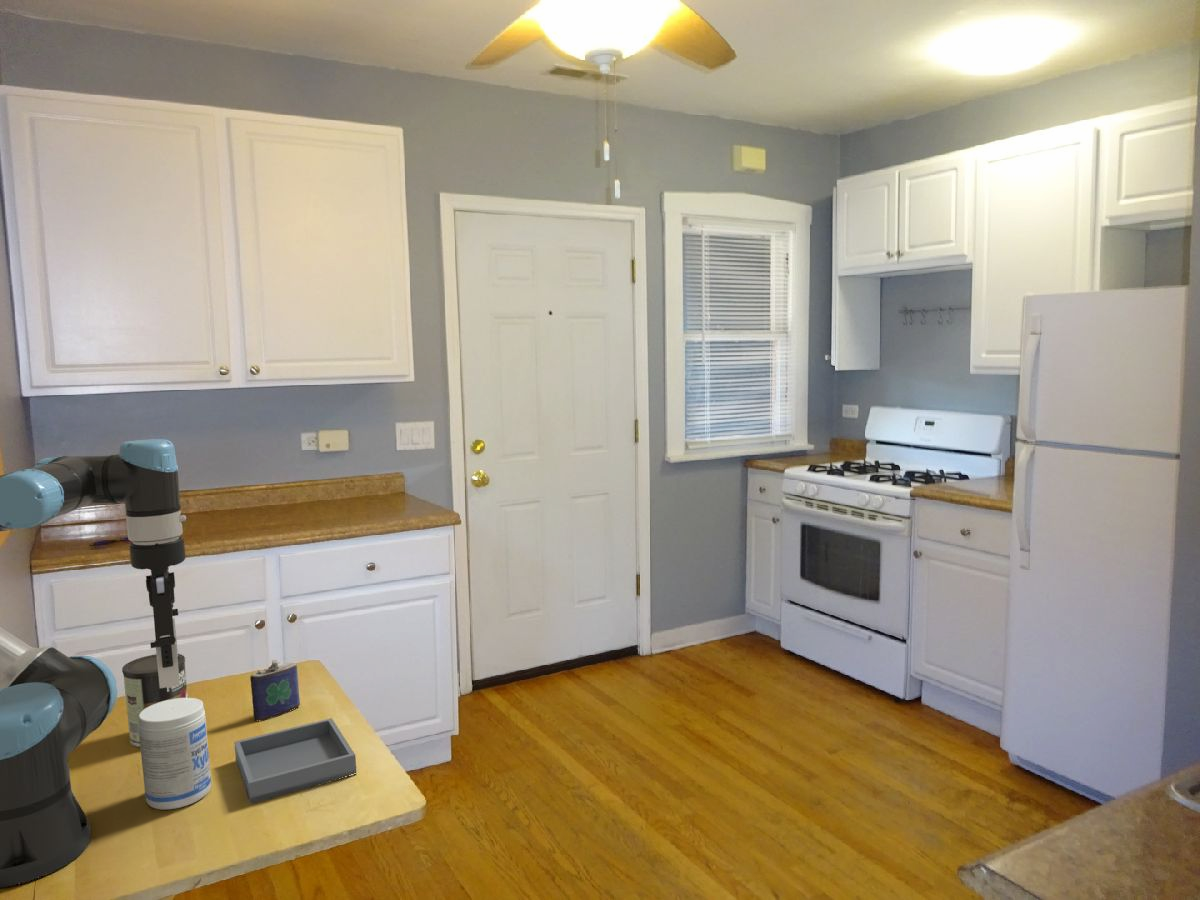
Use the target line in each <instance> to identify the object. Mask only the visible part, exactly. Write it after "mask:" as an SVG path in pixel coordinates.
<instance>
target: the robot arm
mask: <svg viewBox="0 0 1200 900" xmlns="http://www.w3.org/2000/svg"><path fill="white" fill-rule="evenodd" d="M118 449H119V450H118V451H119V452H118V454H110V455H107V454H106V455H83V456H81V455H80V456H76V455H75V456H69V455H62V456H55V457H45V458H42V459H40V460H38V461H37V462H36V463H35V466H33V467H30V468H25V469H20V470H15V471H12V472H8V473H5V474H1V475H0V533H2V532H5V531H11V530H24V529H28V528H33V527H37V526H40V525H43V524H46V523H48V522H50V521H51V520H53V519H55V518H58V517H61V516H62V515H66V514H69V513H71V512H73V511H76V510H79V509H82V508H83V507H87V506H97V505H117V504H118V505H119V504H120V505H121V504H124V508H125V522H126V523H125V524H126V531H127V539H128V541H130V542H131V543H130V545H129V546H128V548H129V556H130V566H131V567H132V568H134V569H137V570H150V575H145V578H146V579H145V585H146V586H145V587H146V590H147V592H148V600H149V601H148V602H149V606H150V607H152V610H153V613H152V615H153V622H154V623H153V625H154V636H155V641H152V642H150V649H155V653H156V655H157V666H158V676H159V686H160V688H165V687H170V686H176V685H180V680H179V670H178V659H177V656H178V654H179V650H178V639H177V633H176V630H177V629H176V622H175V620H176V619H175V616H179V609H178V608H174V604H175V602H176V600H175V599H176V598H175V587H176V579H175V578H176V577H175V572H174V571H173V572H170V570H169V568H170V567H171V566H177V565H180V564H181V563H184V561H185V560H186V556H187V555H186V548H185V539H184V538H183V537H181V535H183V531H184V529H183V523H182V522H185V521H186V520H187V516H186V514H182V511H181V509H182V508H181V507H182V506H181V496H180V483H179V482H180V481H179V466H178V461H177V457H176V451H175V446H174V444H173V442H172V441H170V440H168V439H164V438H149V439H136V440H135V439H134V440H129V441H125V442H121V444H120V445H119V448H118ZM181 514H182V515H181ZM173 608H174V609H173ZM117 697H118V686H117V680H116V678H115V675H114V673H113V671H112V670H111V669H110V667H108V665H106V664H105V663H104V662H103V661H102V660H100V659H99V658H96V657H93V656H89V655H84V654H83V655H72V656H67V655H66V654H64V653H63V652H61V651H59V650H58V649H56V648H55V647H53V646H51V645H48V646H42V647H33V646H31V645H29V644H27V643H26V642H25V641H23V640H22V639H20V638H18V637H17V636H15V635H13V634H12V633H10V632H9V631H7V630H5V629H4V628H2V627H1V626H0V889H1V888H7V887H8V888H9V887H13V885H14V886H17V885H16V884H18V885H20V884H19V883H22V884H25V883H24V882H26V883H28V882H31V880H32V881H35V880H37V879H36V878H38V877H40V878H42V877H41V876H43V877H45V876H47V875H46V874H48V875H50V874H52V873H54V872H56V871H58V870H60V869H62V868H63V867H65V866H67V865H69V864H70V863H71V862H73V861H74V860H75V859H77V858H78V857H80V856H81V854H82V853H83V852H84V851H86V849H87V848H88V847H89V845H90V842H91V839H92V833H91V826H90V825H91V824H90V821H89V819H88V816H86V813H85V812H84V810H83V809H82V806H81V805H80V803H79V801H78V799H77V797H76V796H75V794H74V793H73V791H72V783H71V773H70V766H69V755H70V754H71V753H72V752H73V751H74V750H75V749H76V748H77V747H78V746H79V745H80V744H81V743H83V741H85V739H86V738H87V737H89V735H91V734H92V733H93V732H95V731H96V730H98V728H100V727H101V726H102V724H103V722H105V720H106V719H107V718H108V716H109V715H110V714H111V712H112V711H113V709H114V706H116V701H117ZM49 873H50V874H49ZM34 879H35V880H34ZM38 879H39V878H38Z"/></svg>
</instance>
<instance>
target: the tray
mask: <svg viewBox="0 0 1200 900" xmlns="http://www.w3.org/2000/svg"><path fill="white" fill-rule="evenodd" d="M234 753H235V762H236V766H237V768H238V771H239V774H240V778H241V780H242V783H243V786H244V788H245V789H244V790H245V791H246V795H247V798H248V800H249V801H248V802H249V804H250V805H252V804H256V803H260V802H264V801H267V800H270V799H275V798H278V797H281V796H285V795H289V794H292V793H295V792H299V791H303V790H307V789H309V788H313V787H318V786H320V785H319V784H321V785H324V784H323V783H325V784H327V783H326V782H328V783H330V782H329V781H332V782H334V781H333V780H335V779H339V778H342V777H345V776H349V775H351V774H354V773H357V761H356V759H357V758H356V757H357V756H356V753H355V751H354V750H353V749H352V747H351V745H350V744H349V743H348V741H347V740H346V738H345V737H344V734H343V733H342V732H341V730H340V729H339V727H338V726H337V724H336V722H335V721H334V719H333V718H332V717H330V718H327V719H323V720H318V721H314V722H310V723H307V724H301V725H298V726H297V725H296V726H294V727H293V726H292V727H289V728H285V729H281V730H275V731H273V732H269V733H265V734H260V735H256V736H253V737H247V738H244V739H240V740H235V741H234ZM339 780H340V779H339ZM335 781H336V780H335ZM317 785H318V786H317Z"/></svg>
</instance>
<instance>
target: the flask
mask: <svg viewBox="0 0 1200 900" xmlns="http://www.w3.org/2000/svg"><path fill="white" fill-rule="evenodd" d="M279 664H280V662H279V661H278V660H277V659H275V660H274V659H273V660H272V661H271V665H270V666H269V667H268V668H264V669H263V670H261V669H259V670H257V672H254V673H252V674H251V675H250V677H249V678H250V679H249V680H250V688H251V697H252V698H251V699H252V702H251V703H252V711H253V713H252V714H253V720H254V719H255V720H258V721H257V722H260V721H259V720H263V721H266V720H269V719H268V718H270V719H272V718H271V717H273V718H276V716H277V717H278V715H279V716H281V715H284V714H283V713H285V712H287V713H289V712H288V711H290V710H292V709H294V708H297V707H298V706H299V705H300V706H301V700H300V699H301V698H300V689H299V677H298V664H297V663H295V662H289V663H286V664H283V665H279ZM297 709H298V708H297ZM292 711H293V710H292ZM290 712H291V711H290ZM285 714H286V713H285ZM265 719H266V720H265ZM255 720H254V721H255Z"/></svg>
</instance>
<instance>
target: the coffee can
mask: <svg viewBox="0 0 1200 900" xmlns="http://www.w3.org/2000/svg"><path fill="white" fill-rule="evenodd" d="M177 659H178V670H179V680H180V685H176V686H170V687H165V688H160V686H159V676H158V666H157V655H156V654H150V655H146V656H141V657H138V658H136V659H134V660H131V661H129V662H127V663H126V664H124V665H123V666H122V669H121V671H122V675H123V682H124V684H123V685H124V692H125V693H124V694H125V702H126V713H127V722H128V731H129V733H128V734H129V743H130V745H132V746H134V747H137V748H141V747H140V738H139V726H138V724H139V714H140V713H141V712H142V711H143V710H144V709H146V708H147V707H149V706H151V705H154V704H156V703H159V702H162V701H166V700H171V699H176V698H189V697H188V687H187V686H188V685H187V674H186V657H185V655H184V654H180V653H178V656H177Z"/></svg>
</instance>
